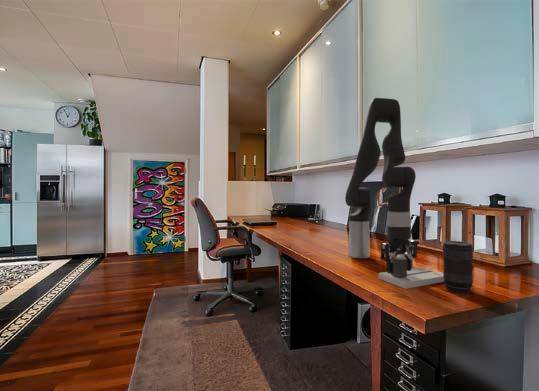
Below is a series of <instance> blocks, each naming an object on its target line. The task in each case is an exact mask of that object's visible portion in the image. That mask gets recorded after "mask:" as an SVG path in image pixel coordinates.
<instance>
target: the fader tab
mask: <svg viewBox="0 0 539 391" xmlns="http://www.w3.org/2000/svg"><path fill="white" fill-rule="evenodd" d="M392 263H393V274H391V275H393V276H396V277H399V278H403V277H407V259H403V258H400V257H396V258H395V259H394V261H393V262H392Z"/></svg>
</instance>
